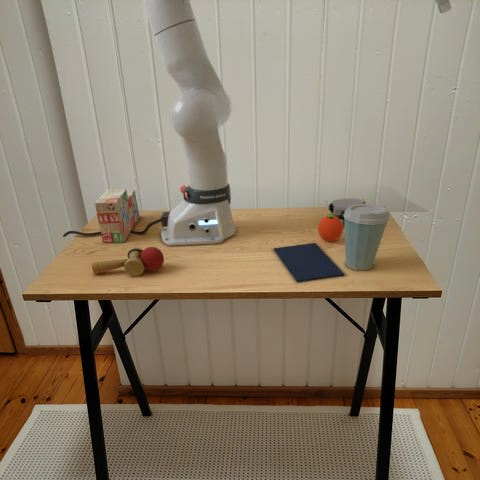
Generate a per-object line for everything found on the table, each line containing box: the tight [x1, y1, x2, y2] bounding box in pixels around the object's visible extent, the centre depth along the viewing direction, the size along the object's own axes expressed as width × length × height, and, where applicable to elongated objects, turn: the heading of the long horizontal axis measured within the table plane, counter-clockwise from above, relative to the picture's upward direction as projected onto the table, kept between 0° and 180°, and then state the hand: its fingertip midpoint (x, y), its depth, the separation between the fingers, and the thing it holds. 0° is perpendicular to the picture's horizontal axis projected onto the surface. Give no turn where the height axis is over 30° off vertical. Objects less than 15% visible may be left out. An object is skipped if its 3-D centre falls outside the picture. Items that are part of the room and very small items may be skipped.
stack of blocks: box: [94, 188, 140, 244], centre depth 139 cm, size 21×6×12 cm, turn 178°
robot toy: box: [325, 197, 367, 224], centre depth 141 cm, size 12×4×15 cm
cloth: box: [273, 242, 345, 283], centre depth 117 cm, size 12×20×1 cm, turn 13°
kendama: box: [91, 246, 165, 277], centre depth 115 cm, size 8×6×18 cm
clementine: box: [317, 214, 344, 242], centre depth 127 cm, size 8×7×7 cm
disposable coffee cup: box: [343, 203, 390, 271], centre depth 110 cm, size 11×11×15 cm
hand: (445, 11), depth 95 cm, fingers open, 8 cm apart
